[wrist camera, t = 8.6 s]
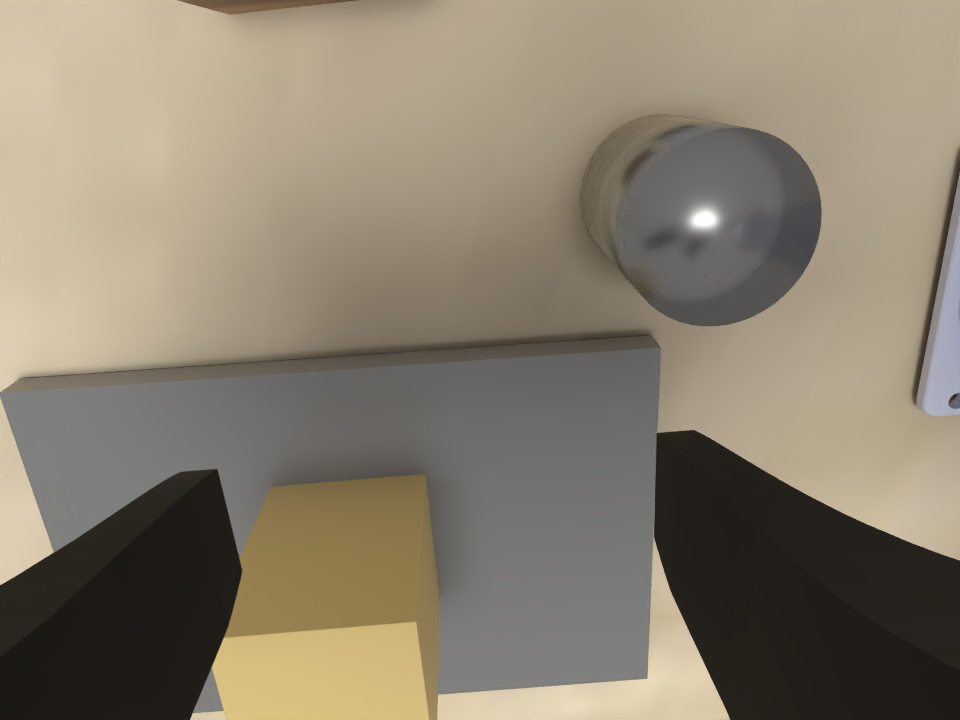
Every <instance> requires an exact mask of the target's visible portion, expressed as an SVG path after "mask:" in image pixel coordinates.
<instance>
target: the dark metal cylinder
mask: <svg viewBox="0 0 960 720" xmlns="http://www.w3.org/2000/svg"><path fill="white" fill-rule="evenodd" d="M581 210H582V214H583V219H584V222H585V224H586V227H587V229H588V231H589V233H590V235H591V237H592V238H593V239H594V241H595V242H596V243H597V245H598V246H599V247H600V248H601V249H602V250H603V252H604V253H605V254H606V255H607V256H608V257H609V258H610V260H611V261H612V262H613V263H614V264H615V265H616V266H617V268H618V269H619V270H620V271H621V272H622V273H623V274H624V276H625V277H626V278H627V279H628V280H629V281H630V283H631V284H632V285H633V286H634V287H635V288H636V289H637V291H638V292H639V293H640V294H641V295H642V296H643V297H644V298H645V299H646V301H647V302H648V303H649V304H650V305H652V306H653V307H654V308H655V309H657V310H658V311H659V312H661V313H663V314H664V315H666V316H668V317H670V318H672V319H675V320H677V321H679V322H683V323H687V324H691V325H698V326H720V325H727V324H732V323H735V322H739V321H742V320H745V319H747V318H750V317H753V316H754V315H756V314H758V313H760V312H762V311H764V310H765V309H767V308H768V307H770V306H771V305H773V304H774V303H776V302H777V301H778V300H779V299H780V298H782V297H783V296H784V295H785V294H786V293H787V292H788V291H789V290H790V289H791V288H792V287H793V286H794V284H795V283H796V282H797V281H798V279H799V278H800V277H801V275H802V274H803V272H804V270H805V269H806V267H807V265H808V264H809V262H810V259H811V257H812V255H813V253H814V250H815V247H816V244H817V241H818V237H819V232H820V227H821V200H820V195H819V191H818V187H817V184H816V181H815V179H814V176H813V174H812V172H811V170H810V169H809V167H808V165H807V164H806V162H805V161H804V160H803V158H802V157H801V156H800V155H799V154H798V153H797V152H796V151H795V150H794V149H793V148H792V147H791V146H790V145H788V144H787V143H785V142H784V141H782V140H781V139H779V138H777V137H775V136H773V135H771V134H768V133H765V132H762V131H758V130H755V129H749V128H743V127H737V126H732V125H726V124H720V123H715V122H709V121H703V120H697V119H692V118H686V117H680V116H674V115H651V116H646V117H642V118H638V119H636V120H633V121H631V122H629V123H627V124H625V125H623V126H622V127H620V128H618V129H617V130H616V131H614V132H613V133H612V134H610V135H609V136H608V137H607V138H606V139H605V140H604V141H603V142H602V144H601V145H600V146H599V147H598V149H597V150H596V151H595V153H594V155H593V156H592V158H591V160H590V162H589V164H588V166H587V168H586V171H585V174H584V177H583V182H582V187H581Z"/></svg>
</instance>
